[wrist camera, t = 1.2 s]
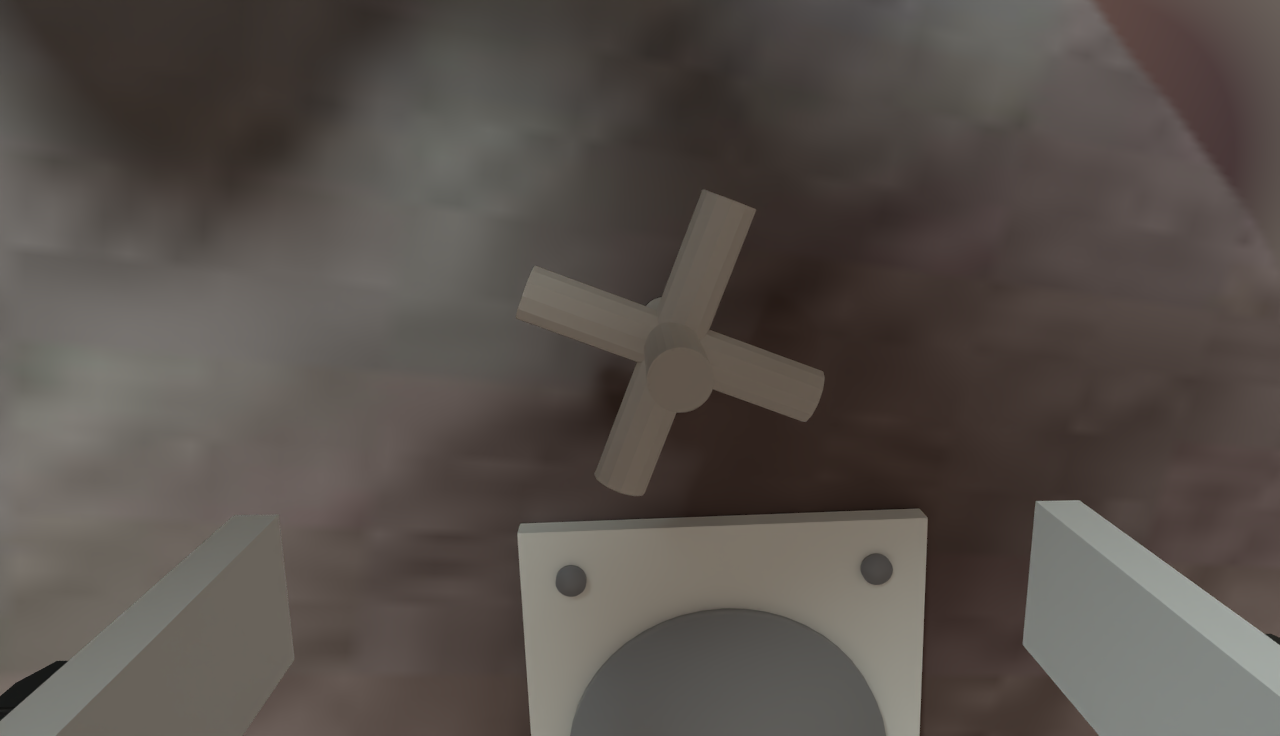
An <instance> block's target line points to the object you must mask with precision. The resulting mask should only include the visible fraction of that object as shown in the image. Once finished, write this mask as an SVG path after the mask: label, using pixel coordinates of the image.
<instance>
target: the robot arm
mask: <svg viewBox="0 0 1280 736" xmlns="http://www.w3.org/2000/svg"><path fill="white" fill-rule="evenodd" d="M1023 646H1024V647H1025V648H1026V649H1027V650H1028V652H1029V653H1030V654H1031V655H1032V656H1033V658H1034V659H1035V660H1036V661H1037V662H1038V663H1039V665H1040V666H1041V667H1042V668H1043V669H1044V671H1045V672H1046V673H1047V674H1048V675H1049V677H1050V678H1051V679H1052V680H1053V681H1054V682H1055V684H1056V685H1057V686H1058V687H1059V688H1060V690H1061V691H1062V692H1063V693H1064V694H1065V696H1066V697H1067V698H1068V699H1069V700H1070V701H1071V703H1072V704H1073V705H1074V706H1075V707H1076V709H1077V710H1078V711H1079V712H1080V713H1081V715H1082V716H1083V717H1084V718H1085V719H1086V720H1087V722H1088V723H1089V724H1090V725H1091V726H1092V728H1093V729H1094V730H1095V731H1096V732H1097V734H1098V735H1099V736H1280V638H1279V637H1277V636H1274V635H1272V634H1264V633H1262V632H1261V631H1259V630H1258V629H1257V628H1255V627H1254V626H1253V625H1251V624H1250V623H1248V622H1247V621H1246V620H1244V619H1243V618H1241V617H1240V616H1239V615H1237V614H1236V613H1235V612H1233V611H1232V610H1230V609H1229V608H1228V607H1226V606H1225V605H1223V604H1222V603H1221V602H1219V601H1218V600H1217V599H1215V598H1214V597H1212V596H1211V595H1210V594H1208V593H1207V592H1205V591H1204V590H1203V589H1201V588H1200V587H1199V586H1197V585H1196V584H1194V583H1193V582H1192V581H1190V580H1189V579H1187V578H1186V577H1185V576H1183V575H1182V574H1181V573H1179V572H1178V571H1176V570H1175V569H1174V568H1172V567H1171V566H1169V565H1168V564H1167V563H1165V562H1164V561H1163V560H1161V559H1160V558H1158V557H1157V556H1156V555H1154V554H1153V553H1151V552H1150V551H1149V550H1147V549H1146V548H1145V547H1143V546H1142V545H1140V544H1139V543H1138V542H1136V541H1135V540H1133V539H1132V538H1131V537H1129V536H1128V535H1127V534H1125V533H1124V532H1122V531H1121V530H1120V529H1118V528H1117V527H1115V526H1114V525H1113V524H1111V523H1110V522H1109V521H1107V520H1106V519H1104V518H1103V517H1102V516H1100V515H1099V514H1098V513H1096V512H1095V511H1093V510H1092V509H1091V508H1089V507H1088V506H1086V505H1085V504H1084V503H1082V502H1081V501H1080V500H1069V501H1036V503H1035V514H1034V525H1033V536H1032V547H1031V558H1030V569H1029V580H1028V591H1027V602H1026V613H1025V624H1024V635H1023ZM293 661H294V650H293V641H292V632H291V623H290V613H289V604H288V595H287V586H286V576H285V567H284V558H283V549H282V539H281V530H280V521H279V515H234V516H233V517H232V518H231V519H229V520H228V521H227V522H226V523H225V524H224V525H223V526H221V527H220V528H219V529H218V530H217V531H216V532H215V533H214V534H212V535H211V536H210V537H209V538H208V539H207V540H206V541H204V542H203V543H202V544H201V545H200V546H199V547H198V548H196V549H195V550H194V551H193V552H192V553H191V554H190V555H188V556H187V557H186V558H185V559H184V560H183V561H182V562H181V563H179V564H178V565H177V566H176V567H175V568H174V569H173V570H171V571H170V572H169V573H168V574H167V575H166V576H165V577H163V578H162V579H161V580H160V581H159V582H158V583H157V584H155V585H154V586H153V587H152V588H151V589H150V590H149V591H148V592H146V593H145V594H144V595H143V596H142V597H141V598H140V599H138V600H137V601H136V602H135V603H134V604H133V605H132V606H130V607H129V608H128V609H127V610H126V611H125V612H124V613H122V614H121V615H120V616H119V617H118V618H117V619H116V620H115V621H113V622H112V623H111V624H110V625H109V626H108V627H107V628H105V629H104V630H103V631H102V632H101V633H100V634H99V635H97V636H96V637H95V638H94V639H93V640H92V641H91V642H89V643H88V644H87V645H86V646H85V647H84V648H83V649H82V650H80V651H79V652H78V653H77V654H76V655H75V656H74V657H72V658H71V659H70V660H69V661H56V662H54V663H52V664H50V665H49V666H47V667H45V668H43V669H41V670H39V671H37V672H35V673H34V674H32V675H30V676H28V677H26V678H24V679H22V680H20V681H19V682H17V683H15V684H14V685H13V686H12V687H11V688H9V689H8V690H7V691H6V692H5V693H3V694H2V695H1V696H0V736H243V734H244V733H245V731H246V730H247V729H248V727H249V726H250V724H251V723H252V721H253V720H254V718H255V717H256V715H257V714H258V712H259V711H260V709H261V708H262V706H263V705H264V703H265V702H266V700H267V699H268V698H269V696H270V695H271V693H272V692H273V690H274V689H275V687H276V686H277V684H278V683H279V681H280V680H281V678H282V677H283V675H284V674H285V672H286V671H287V670H288V668H289V667H290V665H291V664H292V662H293Z"/></svg>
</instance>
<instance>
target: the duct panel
mask: <svg viewBox="0 0 1280 736" xmlns="http://www.w3.org/2000/svg"><path fill="white" fill-rule="evenodd" d="M927 525H928V518H927V516H926V515H925V514H924V513H923V512H922V511H921V510H920V509H919V508H917V509H891V510H865V511H838V512H812V513H786V514H759V515H733V516H707V517H681V518H654V519H628V520H602V521H575V522H549V523H523V524H520V526H519V529H518V533H517V537H518V552H519V566H520V581H521V596H522V610H523V625H524V640H525V654H526V669H527V684H528V698H529V713H530V727H531V736H919V735H920V709H921V683H922V657H923V630H924V604H925V578H926V552H927Z"/></svg>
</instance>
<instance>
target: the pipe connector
mask: <svg viewBox="0 0 1280 736" xmlns="http://www.w3.org/2000/svg"><path fill="white" fill-rule="evenodd" d="M755 212H756V209H754V208H752V207H749V206H747V205H744V204H742V203H739V202H736V201H734V200H731V199H729V198H726V197H723V196H721V195H718V194H715V193H712V192H710V191H707V190H704V189H702V192H701V195H700V197H699V200H698V203H697V205H696V208H695V210H694V213H693V216H692V218H691V221H690V224H689V226H688V229H687V232H686V234H685V237H684V239H683V242H682V245H681V247H680V250H679V253H678V255H677V258H676V261H675V263H674V266H673V268H672V271H671V274H670V276H669V279H668V282H667V284H666V287H665V290H664V292H663V295H662V297H659V298H656V299H654V300H652V301H651V302H649V303H648V304H647V305H646V306H644V305H641V304H638V303H636V302H633V301H630V300H627V299H625V298H622V297H619V296H616V295H614V294H611V293H608V292H606V291H603V290H600V289H597V288H595V287H592V286H589V285H587V284H584V283H581V282H578V281H576V280H573V279H570V278H567V277H565V276H562V275H559V274H557V273H554V272H551V271H548V270H546V269H543V268H540V267H538V266H534V268H533V269H532V272H531V274H530V276H529V279H528V281H527V284H526V287H525V289H524V292H523V295H522V298H521V301H520V304H519V307H518V310H517V314H516V319H519V320H522V321H525V322H528V323H530V324H533V325H536V326H539V327H541V328H544V329H547V330H550V331H553V332H555V333H558V334H561V335H564V336H566V337H569V338H572V339H575V340H577V341H580V342H583V343H586V344H589V345H591V346H594V347H597V348H600V349H602V350H605V351H608V352H611V353H613V354H616V355H619V356H622V357H625V358H627V359H630V360H633V361H636V362H637V363H636V366H635V369H634V371H633V374H632V377H631V379H630V382H629V385H628V387H627V390H626V392H625V395H624V398H623V400H622V403H621V406H620V408H619V411H618V414H617V416H616V419H615V421H614V424H613V427H612V429H611V432H610V435H609V437H608V440H607V443H606V445H605V448H604V450H603V453H602V456H601V458H600V461H599V464H598V466H597V469H596V472H595V474H594V475H595V477H596V479H597V480H598V481H599V482H600V483H602V484H603V485H605V486H606V487H608V488H610V489H612V490H614V491H617V492H619V493H622V494H626V495H630V496H642V495H643V494H644V493H645V492H646V489H647V487H648V484H649V481H650V479H651V476H652V474H653V471H654V469H655V466H656V464H657V461H658V459H659V456H660V454H661V451H662V448H663V446H664V443H665V441H666V438H667V436H668V433H669V431H670V428H671V426H672V423H673V421H674V418H675V415H676V413H681V412H688V411H692V410H695V409H696V408H698V407H700V406H701V405H702V404H703V403H704V402H705V401H706V400H707V399H708V397H709V396H710V394H711V392H712V389H713V390H716V391H719V392H722V393H724V394H727V395H730V396H733V397H735V398H738V399H741V400H744V401H746V402H749V403H752V404H755V405H758V406H760V407H763V408H766V409H769V410H771V411H774V412H777V413H780V414H783V415H785V416H788V417H791V418H794V419H796V420H799V421H802V422H806V421H807V420H808V419H809V418H810V417H811V416H812V415H813V413H814V411H815V409H816V407H817V405H818V403H819V400H820V397H821V394H822V391H823V387H824V380H825V377H824V373H823V371H821V370H818V369H815V368H813V367H810V366H807V365H804V364H802V363H799V362H796V361H794V360H791V359H788V358H785V357H783V356H780V355H777V354H774V353H772V352H769V351H766V350H764V349H761V348H758V347H755V346H753V345H750V344H747V343H744V342H742V341H739V340H736V339H734V338H731V337H728V336H725V335H723V334H720V333H717V332H715V331H712V330H709V329H710V327H711V324H712V321H713V319H714V316H715V314H716V311H717V309H718V306H719V304H720V301H721V299H722V296H723V294H724V291H725V288H726V286H727V283H728V281H729V278H730V276H731V273H732V271H733V268H734V266H735V263H736V260H737V258H738V255H739V253H740V250H741V248H742V245H743V243H744V240H745V238H746V235H747V233H748V230H749V227H750V225H751V222H752V220H753V217H754V215H755Z"/></svg>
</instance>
